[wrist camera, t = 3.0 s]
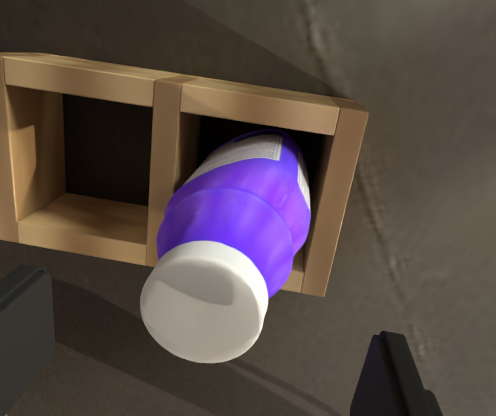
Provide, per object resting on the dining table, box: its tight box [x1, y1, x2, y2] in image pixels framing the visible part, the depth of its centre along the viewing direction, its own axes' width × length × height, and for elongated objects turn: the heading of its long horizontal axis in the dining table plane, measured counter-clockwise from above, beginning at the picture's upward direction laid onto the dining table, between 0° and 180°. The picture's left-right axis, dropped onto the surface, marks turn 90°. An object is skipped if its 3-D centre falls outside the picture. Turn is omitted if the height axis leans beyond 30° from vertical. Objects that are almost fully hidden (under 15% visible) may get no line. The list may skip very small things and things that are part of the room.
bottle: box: [140, 129, 311, 363], centre depth 21 cm, size 7×6×17 cm
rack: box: [0, 53, 369, 297], centre depth 26 cm, size 22×12×6 cm, turn 82°
